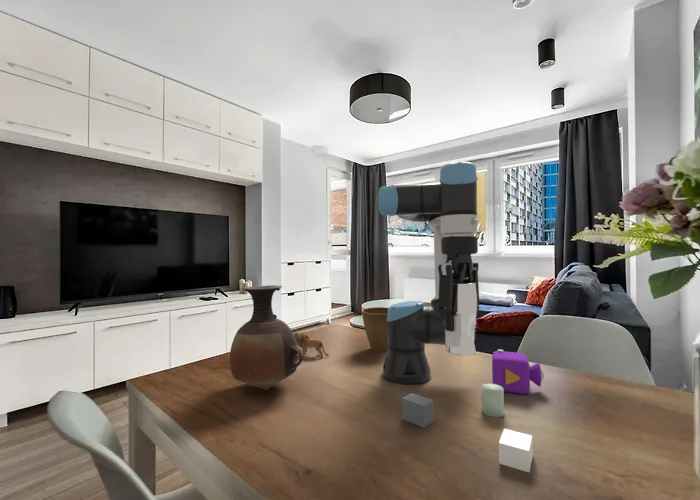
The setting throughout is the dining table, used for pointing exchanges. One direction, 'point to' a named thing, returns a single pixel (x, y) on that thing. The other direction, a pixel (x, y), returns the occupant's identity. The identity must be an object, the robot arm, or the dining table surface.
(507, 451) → the off-white brick
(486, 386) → the sage cylinder
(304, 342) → the lion figurine
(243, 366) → the vase
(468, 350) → the beer glass
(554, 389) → the dining table surface
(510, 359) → the toy camera
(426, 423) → the charcoal block
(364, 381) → the dining table surface
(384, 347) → the plant pot
